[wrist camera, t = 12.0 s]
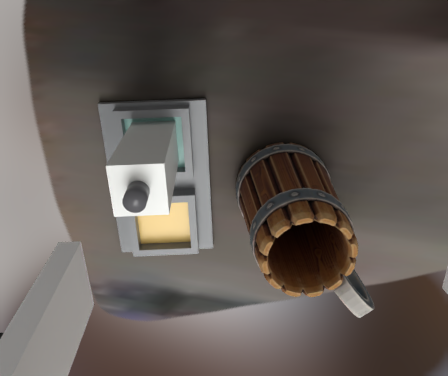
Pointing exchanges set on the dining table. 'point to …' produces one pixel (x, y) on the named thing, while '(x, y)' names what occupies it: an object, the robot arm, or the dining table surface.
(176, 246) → the panel
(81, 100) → the dining table surface
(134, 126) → the plug
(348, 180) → the dining table surface
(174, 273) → the dining table surface
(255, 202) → the mug
